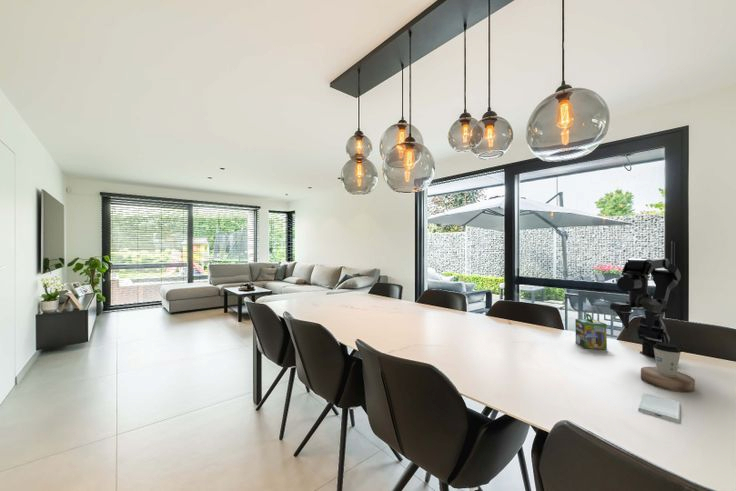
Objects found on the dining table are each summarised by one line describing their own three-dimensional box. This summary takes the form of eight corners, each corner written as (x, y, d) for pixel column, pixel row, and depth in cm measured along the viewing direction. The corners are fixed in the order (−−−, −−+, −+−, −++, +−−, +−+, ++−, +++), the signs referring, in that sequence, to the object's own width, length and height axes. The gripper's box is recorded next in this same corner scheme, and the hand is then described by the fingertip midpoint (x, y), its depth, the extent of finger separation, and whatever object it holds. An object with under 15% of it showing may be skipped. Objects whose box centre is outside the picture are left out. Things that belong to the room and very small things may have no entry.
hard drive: (642, 392, 95) (638, 407, 86) (680, 402, 89) (679, 418, 80) (642, 397, 95) (638, 412, 86) (680, 408, 89) (679, 425, 80)
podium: (666, 375, 110) (666, 366, 110) (707, 392, 97) (707, 383, 97) (630, 374, 110) (630, 366, 110) (666, 392, 97) (666, 382, 97)
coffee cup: (680, 374, 104) (680, 344, 104) (681, 380, 99) (682, 349, 99) (652, 368, 108) (652, 340, 108) (652, 374, 103) (652, 344, 103)
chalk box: (607, 350, 136) (607, 316, 136) (584, 348, 138) (584, 315, 138) (596, 343, 145) (596, 312, 145) (574, 342, 147) (574, 311, 147)
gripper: (632, 292, 115) (632, 334, 115) (682, 293, 115) (681, 334, 115) (609, 288, 126) (608, 326, 126) (654, 288, 126) (653, 326, 127)
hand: (638, 328), depth 123 cm, fingers open, 9 cm apart
